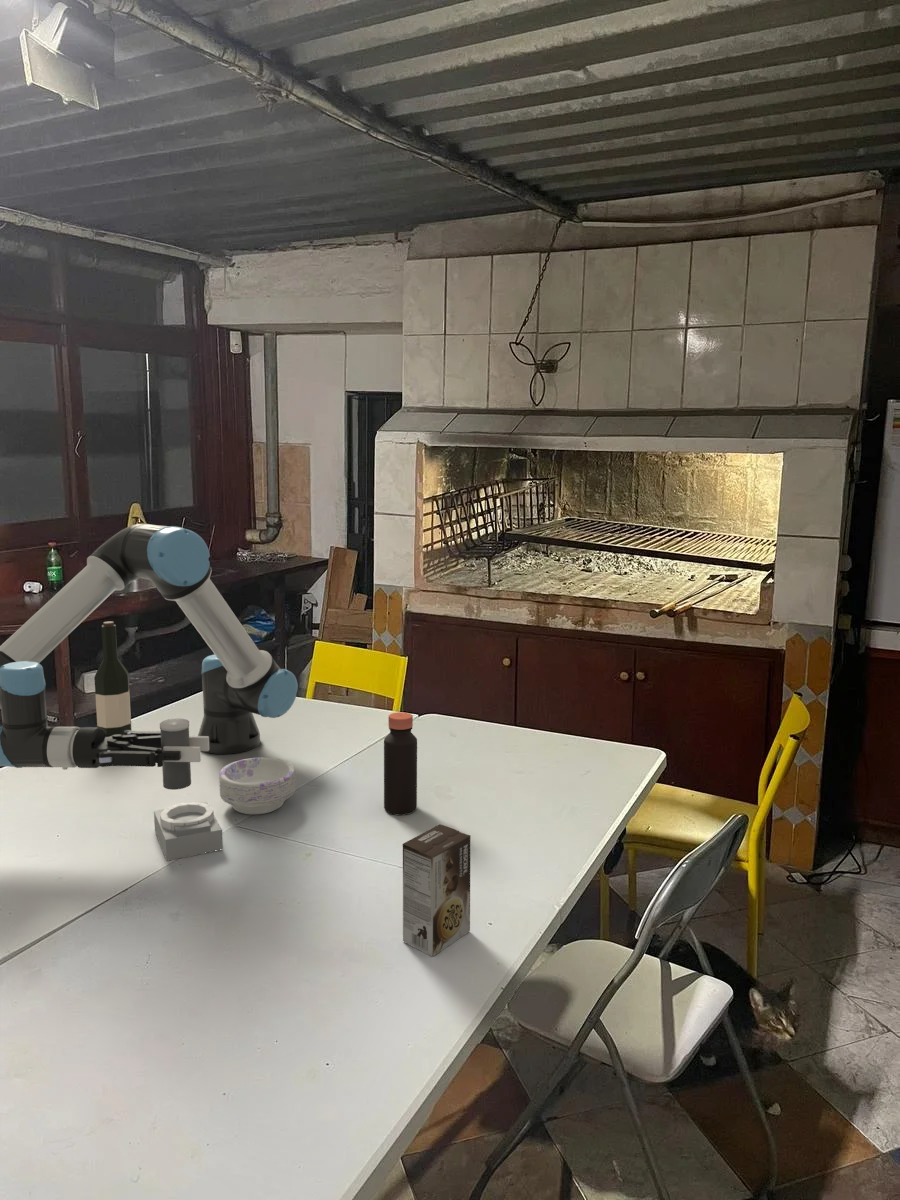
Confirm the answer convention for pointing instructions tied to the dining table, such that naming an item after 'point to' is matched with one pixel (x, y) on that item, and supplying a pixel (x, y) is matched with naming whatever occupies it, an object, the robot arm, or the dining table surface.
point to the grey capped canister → (175, 735)
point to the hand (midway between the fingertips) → (204, 748)
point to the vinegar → (400, 765)
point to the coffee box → (436, 889)
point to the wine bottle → (112, 687)
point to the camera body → (187, 830)
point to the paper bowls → (257, 784)
